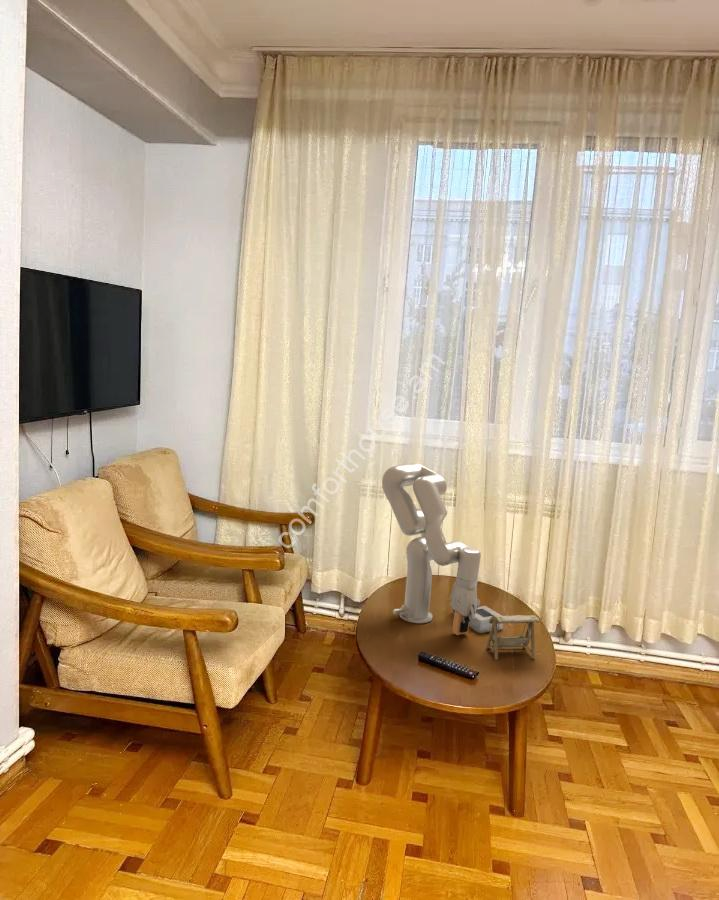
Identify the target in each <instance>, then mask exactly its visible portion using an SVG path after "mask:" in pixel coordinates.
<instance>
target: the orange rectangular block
mask: <svg viewBox="0 0 719 900" xmlns="http://www.w3.org/2000/svg"><path fill="white" fill-rule="evenodd" d="M465 618H467V616H466V617H465ZM461 622H462V615H461V614H459V613H458V612H457V611H455V613H454V612H453V623H452V629H451V631H452V633H453V634H455V635H456V636H460V635H465V634H469V628H470V627H469V624H468V631H467V632H462V633H461V632H460V624H461ZM469 623H470V622H469Z"/></svg>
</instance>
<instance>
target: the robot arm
mask: <svg viewBox="0 0 719 900" xmlns="http://www.w3.org/2000/svg"><path fill="white" fill-rule="evenodd" d="M381 485H382V491H383V493H384V495H385V497H386V500H387V502H388V503H389V505H390V507H391V508H392V512H393V515H394V516H395V518H396V521H397V524H398V525H399V529H400V530H401V532H402V534H404V535H406V536H407V537H410V536H411V537H412V536H416V535H421V536H419V537H415V538H413V539H412V540H410V541H409V542H408V544H407V546H406V551H405V552H406V561H407V562H406V563H407V564H406V565H407V566H406V567H407V568H406V570H407V571H406V583H405V594H404V603H403V604H402V605H401V607H399V608H393V610H392V613H393V615H399V617H400V618H401V619H402V620H404V621H406V622H408V623H413V624H427V623H430V622H431V621H432V620H433V614H432V612H430V604H431V594H432V593H431V591H432V579H433V570H432V566H431V561H434V563H436V564H437V565H438V566H442V567H444V566H448V565H452V564H456V563H457V568H456V569H457V570H456V578H455V579H456V580H455V582H454V583H453V586H452V589H451V594H450V599H449V607H450V608H451V609H452V610H453V614H454V613H455V611H457V612H458V613H459V614H461V615H462V622H461V624H460V632H461V633H462V632H467V631H468V632H469V630H468V624H469V622H470V621H471V620H475V615H474V614H475V612H476V605H477V598H478V591H477V590H478V588H477V585H478V577H479V570H480V565H481V563H480V562H481V558H482V557H481V555H482V554H481V553H482V552H481V551H480V550H479V549H477V548H475V547H470V546H468V545H467V544H465V543H463V542H462V541H459V540H453V541H449V542H447V540H446V537H445V535H444V532H443V531H442V527H441V526H442V524H443V521H444V520H445V518H446V517H447V515H448V510H447V508H446V506H445V504H444V502H443V499H442V497H441V496H443V495H444V494H445V493H446V492H447V487H448V485H447V482H446V480H445V478H444V477H443V476H441V475H440V474H439V473H437V472H435V471H434V470H432V469H429V468H427V467H426V466H424V465H423V464H419V463H414V462H413V463H405V464H397V465H394V466H390V467H388V468H387V470H385V471H384V474H383V475H382V480H381ZM409 486H410V487H411V486H412V489H413V490H412V491H413V493H414V496H415V497H416V500H417V502H418V504H419V507H420V508H417V507H416V504H414V500H413V498H412V497H411V495H410V494H409V492H407V491H406V490H405V489H404V488H405V487H409ZM466 616H467V618H465V617H466Z"/></svg>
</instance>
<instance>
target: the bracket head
mask: <svg viewBox="0 0 719 900" xmlns="http://www.w3.org/2000/svg"><path fill="white" fill-rule="evenodd" d="M480 605H481V600H480V598H478V597H477V605H476V612H475V614H474V615H475V620H471V621H470V623H469V628H470V629H471V630H473V631H474V632H476V633H478V634H483V633H490V631H491V627H492V623H489V620H490V618H491V617H492V616H503V615H502V614H500V613H498V612H497V611H495V610H493V609H492V608H490V607H488V606H487V605H481V606H480ZM503 629H504V623H502V624H499V627H498V623H497V631H500V630H503Z"/></svg>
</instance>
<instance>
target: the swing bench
mask: <svg viewBox="0 0 719 900" xmlns="http://www.w3.org/2000/svg"><path fill="white" fill-rule="evenodd" d="M540 622H541V621H540V619H539V618H538V616H536V615H534V614H530V615H522V614H519V615H518V614H517V615H516V614H515V615H502V616H492V617H491V618H490V620H489V623H492V627H491V631H490V632H489V636H488V639H487V643H486V647H485V648H486V649H487V650H489V649H490V650H491V652H492V653H493V654H494V660H495V661H498V660H499V648H522V649H526V648H527V650H528V651H529V652H530V655H531V656H530V657H531V659H532V660H534V659H535V657H536V656H535V655H536V651H535V650H536V649H535V646H536V645H535V623H537V624H538V623H540ZM497 623H498V627H499V624H502V623H503V624H525V625H524V627H523V631H522V634H519V636H512V637H509V636H506V637H503V636H500V635H501V633H500V630H497ZM526 626H527V628H526ZM525 629H526V632H525ZM524 632H525V636H524ZM491 643H492V644H491ZM530 643H531V647H530V645H529V644H530Z"/></svg>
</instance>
